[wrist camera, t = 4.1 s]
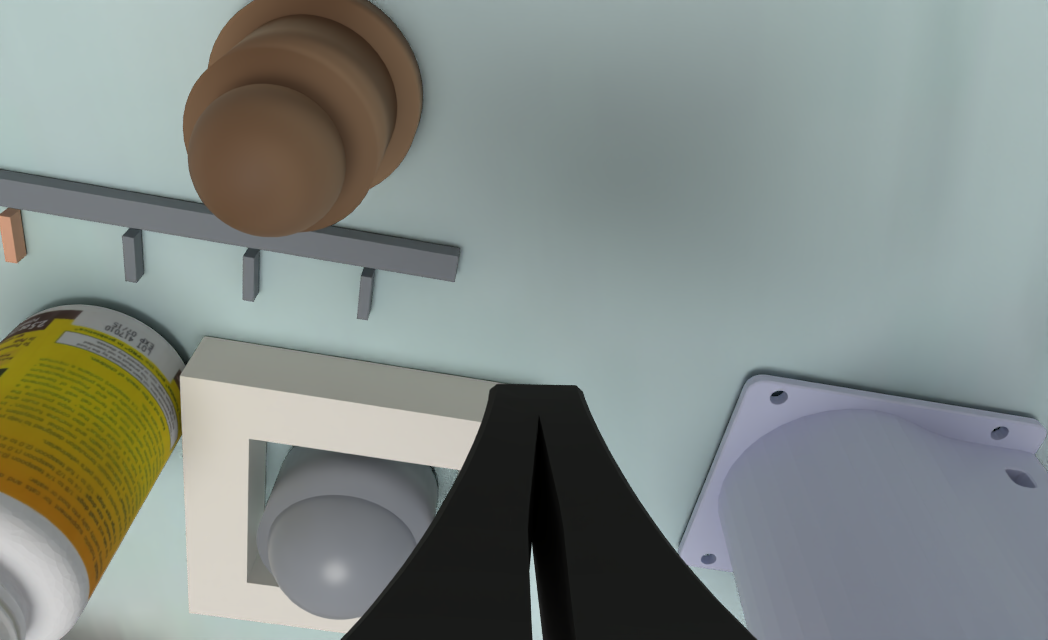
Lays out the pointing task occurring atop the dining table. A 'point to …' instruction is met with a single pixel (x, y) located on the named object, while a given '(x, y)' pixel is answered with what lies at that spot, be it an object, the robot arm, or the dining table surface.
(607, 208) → the dining table surface
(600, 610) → the robot arm
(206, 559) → the housing
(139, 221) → the track
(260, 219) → the pawn
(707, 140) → the dining table surface
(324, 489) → the dome
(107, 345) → the supplement bottle
